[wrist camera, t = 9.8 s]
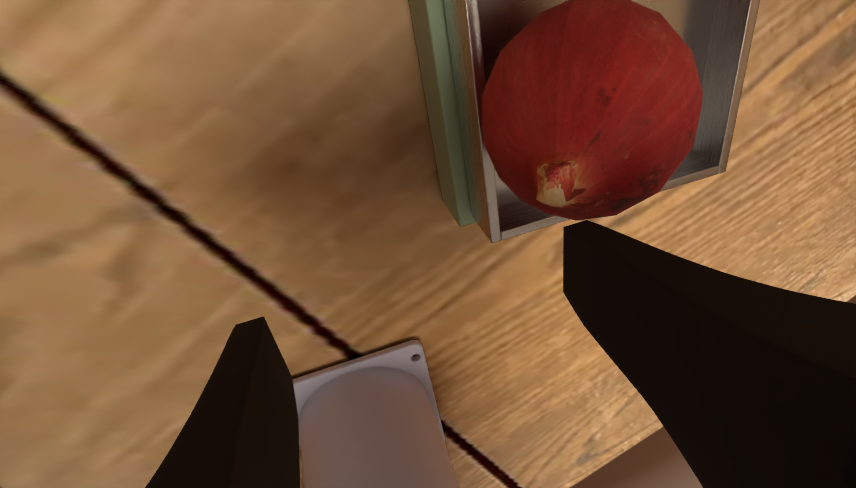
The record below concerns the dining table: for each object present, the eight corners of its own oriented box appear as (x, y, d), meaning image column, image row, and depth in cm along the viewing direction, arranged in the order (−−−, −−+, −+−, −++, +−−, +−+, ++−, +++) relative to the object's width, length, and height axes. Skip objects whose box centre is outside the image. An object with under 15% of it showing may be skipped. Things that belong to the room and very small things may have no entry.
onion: (740, 66, 15) (769, 233, 10) (587, 163, 19) (549, 320, 14) (619, -86, 14) (574, 13, 8) (481, 54, 18) (392, 181, 12)
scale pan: (689, 152, 21) (726, 172, 20) (472, 217, 20) (491, 244, 18) (731, -135, 16) (789, -143, 14) (433, -72, 14) (456, -72, 13)
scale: (661, 137, 24) (698, 156, 22) (442, 200, 23) (460, 227, 20) (694, -149, 18) (749, -158, 16) (393, -87, 16) (411, -89, 14)
